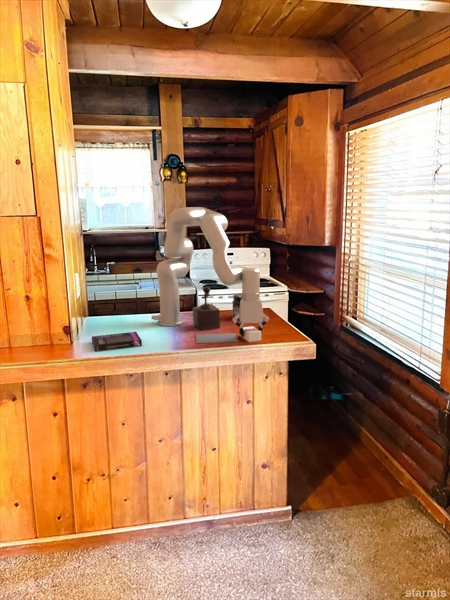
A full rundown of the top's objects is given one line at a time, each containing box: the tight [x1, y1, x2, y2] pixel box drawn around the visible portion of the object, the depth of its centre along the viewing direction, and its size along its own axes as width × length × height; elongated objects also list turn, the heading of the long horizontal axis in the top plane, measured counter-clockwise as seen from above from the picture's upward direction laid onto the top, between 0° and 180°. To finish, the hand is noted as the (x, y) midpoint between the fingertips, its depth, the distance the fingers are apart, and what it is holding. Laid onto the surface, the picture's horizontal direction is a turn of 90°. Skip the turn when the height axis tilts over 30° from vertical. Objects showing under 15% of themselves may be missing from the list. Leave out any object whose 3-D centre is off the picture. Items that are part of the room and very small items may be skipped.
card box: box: [239, 325, 263, 343], centre depth 196 cm, size 6×9×4 cm, turn 22°
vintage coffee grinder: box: [192, 286, 221, 331], centre depth 215 cm, size 16×11×18 cm
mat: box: [195, 332, 239, 345], centre depth 196 cm, size 18×12×1 cm, turn 95°
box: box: [91, 331, 143, 353], centre depth 190 cm, size 14×4×20 cm
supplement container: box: [231, 293, 242, 321], centre depth 229 cm, size 10×10×12 cm
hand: (250, 335), depth 196 cm, fingers closed on card box, 7 cm apart
